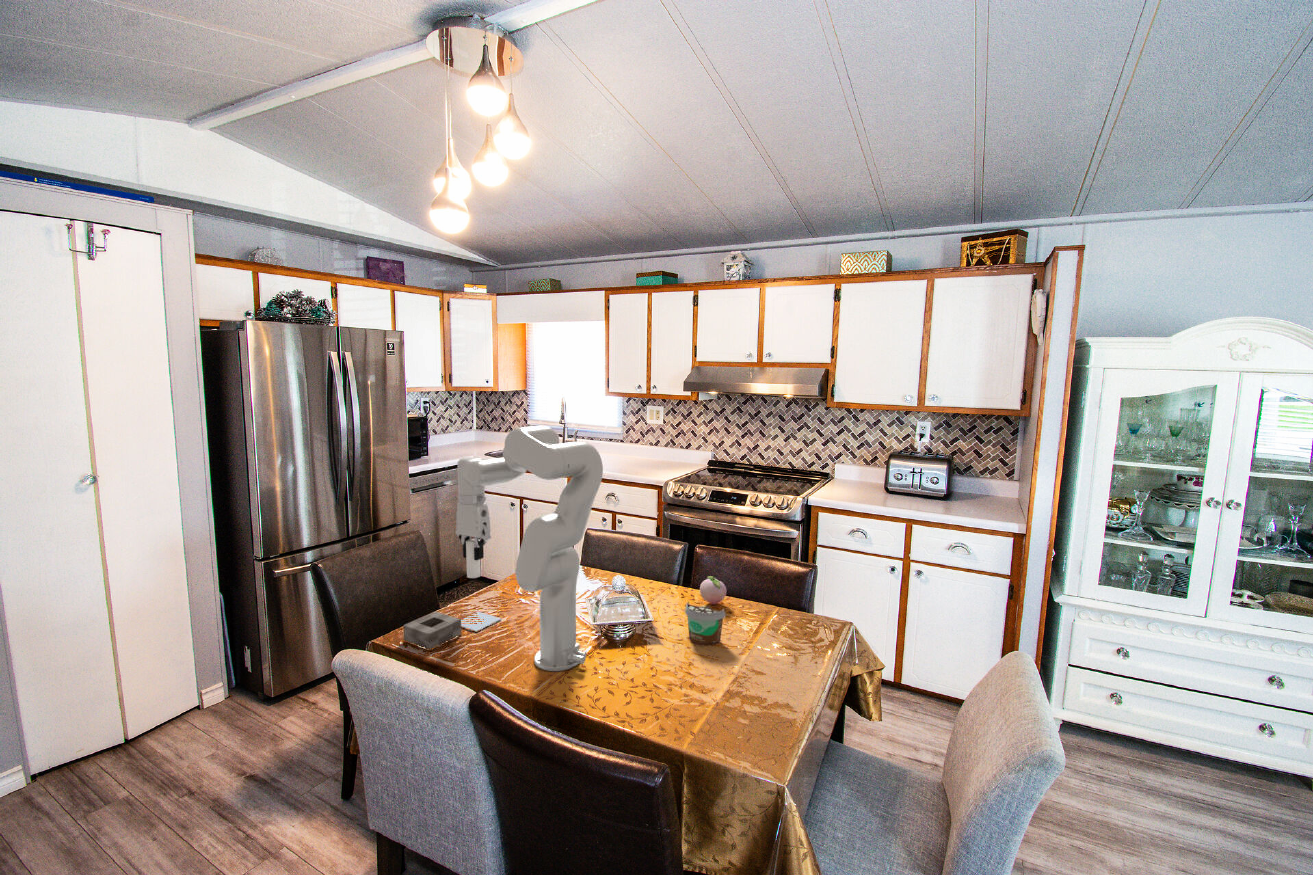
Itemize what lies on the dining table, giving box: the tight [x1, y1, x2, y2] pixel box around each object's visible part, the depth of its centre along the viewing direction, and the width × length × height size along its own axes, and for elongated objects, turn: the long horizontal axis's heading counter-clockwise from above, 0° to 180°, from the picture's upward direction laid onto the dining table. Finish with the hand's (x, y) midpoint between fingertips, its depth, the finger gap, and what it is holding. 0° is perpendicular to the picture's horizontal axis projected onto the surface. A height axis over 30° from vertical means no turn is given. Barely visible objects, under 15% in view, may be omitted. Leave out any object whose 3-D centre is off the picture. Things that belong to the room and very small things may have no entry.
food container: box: [684, 600, 726, 647], centre depth 160 cm, size 12×6×10 cm, turn 62°
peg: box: [465, 538, 482, 579], centre depth 169 cm, size 4×4×11 cm
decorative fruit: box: [699, 575, 727, 605], centre depth 186 cm, size 9×8×10 cm
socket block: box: [402, 611, 462, 649], centre depth 161 cm, size 11×11×5 cm
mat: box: [461, 611, 502, 632], centre depth 171 cm, size 10×10×1 cm
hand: (473, 557), depth 169 cm, fingers closed on peg, 4 cm apart
